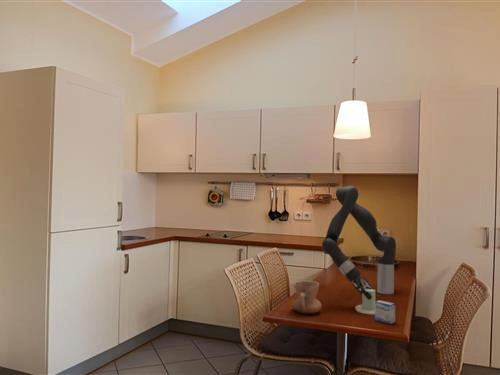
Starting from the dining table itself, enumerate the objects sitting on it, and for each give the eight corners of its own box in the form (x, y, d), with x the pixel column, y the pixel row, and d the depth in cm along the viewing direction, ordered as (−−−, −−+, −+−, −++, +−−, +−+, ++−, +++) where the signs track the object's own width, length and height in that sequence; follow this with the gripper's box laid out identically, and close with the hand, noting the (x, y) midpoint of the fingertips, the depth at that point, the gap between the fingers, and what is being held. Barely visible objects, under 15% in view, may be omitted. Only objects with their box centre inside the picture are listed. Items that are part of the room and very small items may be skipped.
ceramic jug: (298, 305, 215) (298, 278, 215) (325, 308, 209) (325, 280, 209) (286, 315, 199) (286, 286, 199) (315, 319, 193) (315, 289, 193)
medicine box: (374, 320, 192) (374, 301, 192) (379, 318, 195) (379, 299, 195) (390, 324, 187) (390, 305, 187) (395, 322, 190) (395, 303, 190)
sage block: (365, 306, 211) (365, 288, 211) (375, 307, 208) (375, 289, 208) (362, 308, 206) (362, 290, 206) (372, 310, 204) (372, 291, 204)
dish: (360, 305, 216) (360, 303, 216) (385, 309, 209) (385, 307, 209) (352, 311, 205) (352, 309, 205) (378, 316, 198) (378, 313, 198)
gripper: (350, 268, 205) (373, 295, 199) (359, 264, 217) (382, 289, 211) (339, 277, 208) (362, 305, 202) (349, 273, 220) (371, 298, 214)
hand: (372, 297), depth 206 cm, fingers open, 6 cm apart
